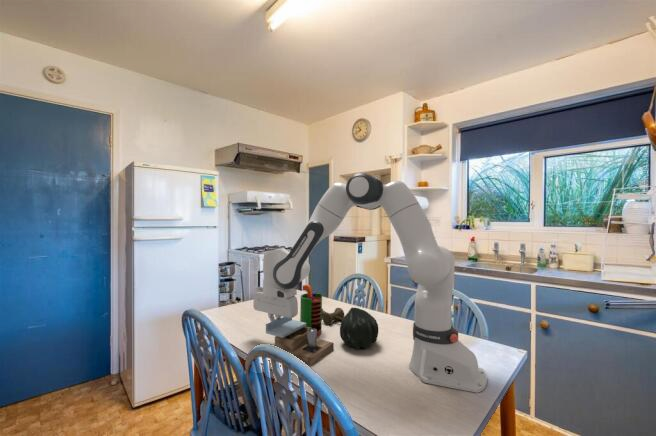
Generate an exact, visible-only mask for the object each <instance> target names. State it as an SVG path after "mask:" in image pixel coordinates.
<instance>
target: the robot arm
mask: <svg viewBox="0 0 656 436" xmlns="http://www.w3.org/2000/svg"><path fill="white" fill-rule="evenodd" d="M353 207H356V208H360V209H365V210H368V211H371V210H373V211H374V210H378V209H379V208H380V207H381V208H383V211H385V213H386V215H387V217H388V219H389V221H390V223H391V225H392V227H393V229H394V231H395V233H396V235H397V237H398V239H399V241H400V244H401V247H402V251H403V254H404V257H405V260H406V264H407V267H406V268H407V273H408V275H409V277H410V279H411V280H412V281H413V282H414V283H416V284H417V288H416V294H415V297H414V322H413V323H412V336H413V337H412V339H413V348H412V355H411V358H410V361H409V365H408V366H409V369H410V370H411V371H412V373H414V374H415V375H416V376H417V377H418V378H419V379H420V381H421V382H422V383H424V384H425V383H426V384H430V385H434V386H441V387H446V388H451V389H455V390H461V391H466V392H471V393H472V392H473V393H480V392H482V391H485V389H486V387H487V383H488V376H487V373H486V371H485V370H484V369H482V368H481V367H479V363H478V359H477V357H476V355H475V353H474V352H473V351H472V350H470V349H469V347H467V346H465V345H464V344H463V343H462V341H460V340H459V328H458V327H457V328H456V329H455V328H454V326H452V301H453V300H452V298H453V292H454V291H453V290H454V280H455V263H456V260H455V259H456V258H455V256H454V255H453V253H452V252H451V250H449V249H448V248H447V247H445V246H441V245H439V244H438V242H437V240H436V237H435V235H434V232H433V228H432V224H431V222H430V221H429V219H428V217H427V214H426V213H425V211H424V209H423V208H422V207H421V205H420V203H419V200H418V199H417V198H416V196H415V195H414V193H413V192H412V191H411V189H410V187H408V186H407V184H406V183H405V182H403V181H401V180H393V181H390V182H388V183H385V184H383V181H381V180H380V179H378V178H376V177H374V176H373V175H371V174H369V173H364V172H359V173H355V174H353V175H352V176H350V177H349V179H348V180H347V182H346V183H344V182H334V183H332V184H331V185H330V186H329V188H328V189H326V191H325V193H324V194H323V195H322V197H321V198H320V200H319V201H318V203H317V204H316V206H315V208H314V210H313V212H312V214H311V215H310V218H309V220H308V222H307V224H306V226H305V227H304V230H303V231H302V233H301V234H300V236H299V237H298V239H297V240H296V242H295V243H294V245H293V247H292V248H291V249H290V251H288V250H287V249H286V248H285V247H282V246H280V247H273V248H269V249H267V250H265V252H264V254H263V260H262V272H263V280H262V286H257V287H256V288H255V290H254V295H253V296H254V297H253V305H252V307H253V309H254V310H255V311H256V312H257V311H258V312H261V313H266V314H267V315H268V318H269V320H270V322H272V321H275V320H277V319H279V318H282V317H287V318H292V319H293V318H295V317H296V316H298V313H299V303H298V298H297V297H296V296H297V294H298V293H297V289H295V287H296V286H297V285H298V284H299V283H301V282H302V281H303V280H305V279H307V277H308V276H309V275H310V273H311V265H310V262H309V261H308V258H309V257H310V255H311V253H312V252H313V250H314V249H315V248H316V246H317V245H318V244H319V243H320V242H321V241H323V240H324V239H325V238H328V236H330V235H331V234H333V233H334V232H335V231H336V230H337V229H338V228H339V226H340V225H341V224H342V222H343V220H344V219H345V217H346V216H347V213H348V212H349V211H350V210H351V208H353Z"/></svg>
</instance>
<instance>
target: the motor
mask: <svg viewBox="0 0 656 436" xmlns="http://www.w3.org/2000/svg"><path fill="white" fill-rule="evenodd" d="M302 291H306V292H307V293H302V294H301V295H300V305H299V306H300V308H299V309H300V310H299V311H300V313H299V314H300V315H299V317H300V319H299V321H300V322H304V323H306V327H310V328H315V329H317V337H319V335H320V336H321V335H322V326H323V325H322V324H323V323H322V322H323V316H322V309H323V294H322V293H319V292H313V291H312V286H311V285H310V284H303V285H302Z"/></svg>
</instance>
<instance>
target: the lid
mask: <svg viewBox="0 0 656 436" xmlns="http://www.w3.org/2000/svg"><path fill="white" fill-rule="evenodd" d="M305 326H306V323H304V322H300V320H296V319H293V318H287V317H283V316H281V318H279V319H277V320H275V321H272V322H271V321H270V322H268V323H266V324H265V334H268V335H271V336H274V337H276V336H277V337H281V338H283V337H285V336H287V335H289V334H291V333H293V332H295V331H297V330H299V329H301V328H303V327H305Z"/></svg>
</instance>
